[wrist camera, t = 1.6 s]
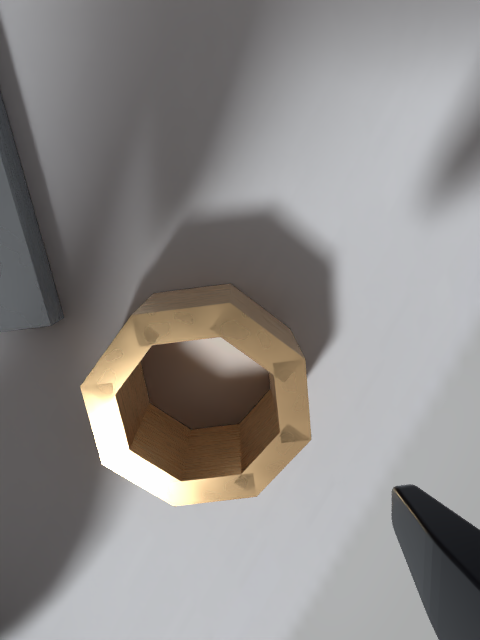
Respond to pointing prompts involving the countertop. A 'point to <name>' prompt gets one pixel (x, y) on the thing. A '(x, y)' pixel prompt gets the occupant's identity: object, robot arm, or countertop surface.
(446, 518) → the robot arm
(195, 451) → the wooden ring
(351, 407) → the countertop surface
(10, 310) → the grey peg base
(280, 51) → the countertop surface
